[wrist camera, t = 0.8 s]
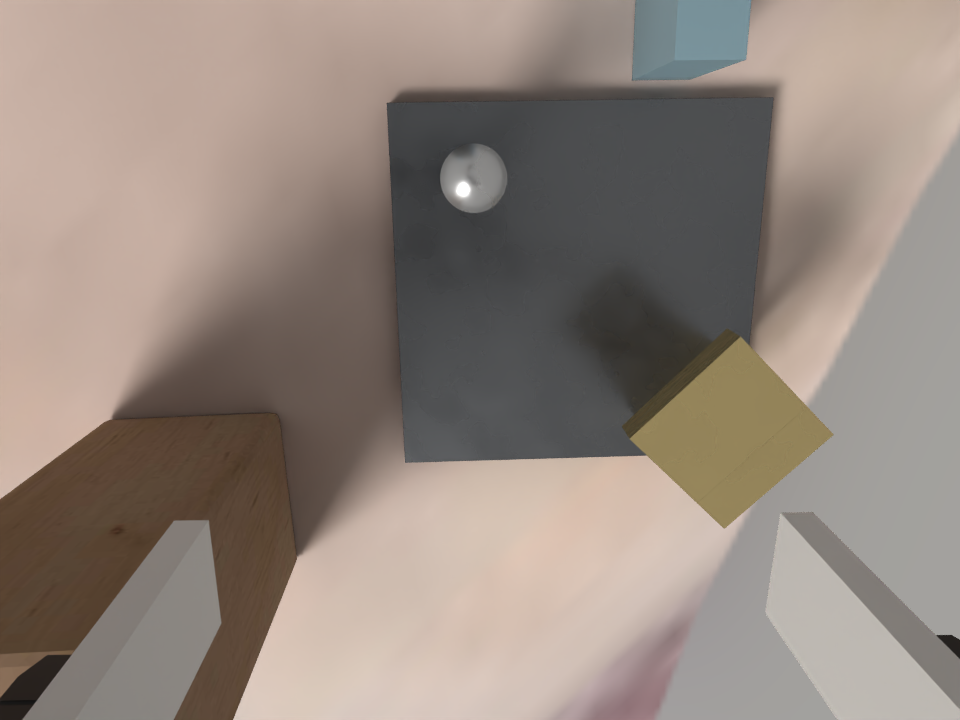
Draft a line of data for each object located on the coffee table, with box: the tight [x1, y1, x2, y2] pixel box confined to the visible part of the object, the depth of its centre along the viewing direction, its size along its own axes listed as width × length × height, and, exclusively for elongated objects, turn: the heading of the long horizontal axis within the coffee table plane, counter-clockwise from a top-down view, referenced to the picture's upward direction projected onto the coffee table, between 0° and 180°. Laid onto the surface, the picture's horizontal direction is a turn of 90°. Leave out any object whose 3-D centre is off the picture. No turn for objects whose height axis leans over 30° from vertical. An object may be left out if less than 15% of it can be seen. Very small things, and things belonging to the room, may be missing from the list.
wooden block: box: [0, 413, 297, 720], centre depth 31 cm, size 10×10×20 cm
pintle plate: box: [387, 97, 833, 529], centre depth 32 cm, size 20×20×11 cm
